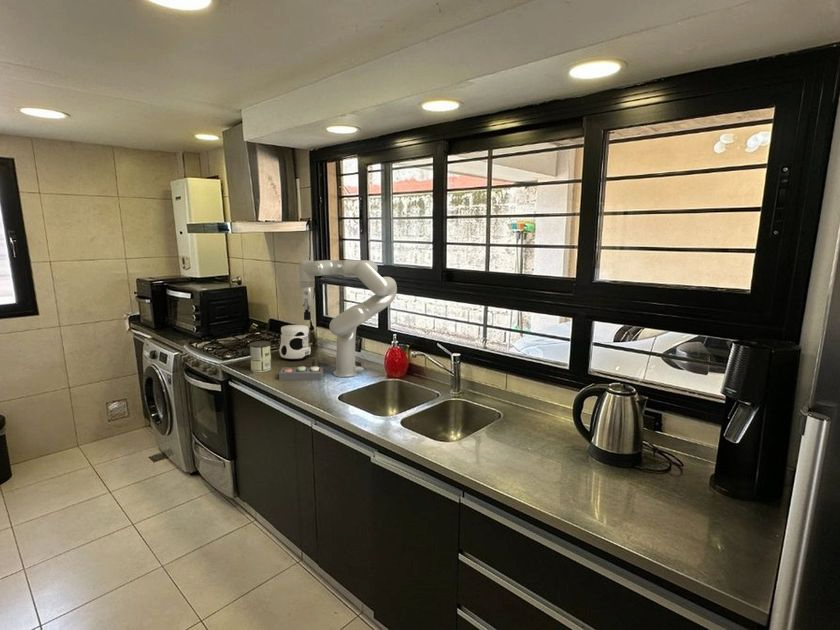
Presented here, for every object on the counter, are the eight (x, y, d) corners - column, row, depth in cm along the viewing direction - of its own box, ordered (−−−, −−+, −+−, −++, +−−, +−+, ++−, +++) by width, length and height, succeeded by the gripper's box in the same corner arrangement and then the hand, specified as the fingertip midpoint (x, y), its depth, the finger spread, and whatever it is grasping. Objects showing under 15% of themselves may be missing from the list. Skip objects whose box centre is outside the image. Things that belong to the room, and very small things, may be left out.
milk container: (280, 354, 255) (279, 324, 252) (310, 353, 260) (310, 324, 257) (278, 362, 239) (278, 330, 236) (311, 361, 244) (310, 330, 241)
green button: (306, 370, 218) (306, 366, 218) (305, 372, 214) (305, 368, 214) (298, 370, 218) (298, 366, 217) (296, 372, 214) (296, 368, 213)
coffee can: (256, 365, 232) (255, 340, 229) (274, 367, 231) (274, 341, 228) (246, 371, 222) (246, 344, 219) (266, 372, 221) (265, 346, 218)
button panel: (323, 374, 222) (323, 367, 222) (321, 380, 213) (321, 373, 213) (282, 374, 220) (282, 367, 219) (279, 380, 210) (278, 373, 210)
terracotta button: (293, 372, 218) (293, 368, 217) (291, 374, 214) (291, 371, 213) (284, 372, 217) (284, 368, 217) (283, 374, 213) (283, 371, 213)
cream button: (319, 370, 219) (319, 366, 219) (318, 372, 215) (318, 368, 215) (311, 370, 219) (311, 366, 218) (310, 372, 215) (310, 368, 214)
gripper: (313, 286, 214) (313, 322, 218) (315, 283, 229) (316, 317, 232) (297, 286, 213) (298, 322, 216) (301, 282, 228) (301, 317, 231)
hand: (307, 319), depth 224 cm, fingers closed
